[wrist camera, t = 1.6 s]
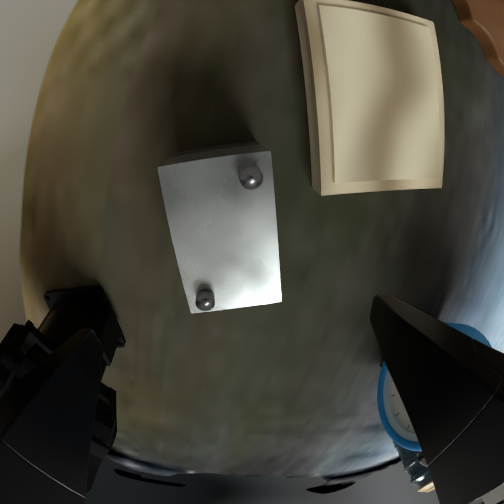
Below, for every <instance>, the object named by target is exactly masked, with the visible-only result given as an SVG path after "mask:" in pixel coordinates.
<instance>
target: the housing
mask: <svg viewBox="0 0 504 504" xmlns="http://www.w3.org/2000/svg"><path fill="white" fill-rule="evenodd" d="M157 168H158V174H159V179H160V184H161V190H162V195H163V200H164V204H165V209H166V214H167V219H168V223H169V228H170V232H171V237H172V241H173V245H174V249H175V254H176V258H177V262H178V266H179V270H180V274H181V278H182V281H183V285H184V289H185V293H186V296H187V300H188V304H189V307H190V311H191V313H200V312H208V311H217V310H225V309H233V308H240V307H248V306H255V305H262V304H269V303H276V302H282V301H281V283H280V266H279V251H278V236H277V222H276V209H275V196H274V183H273V171H272V160H271V151H270V150H269V149H267V148H266V147H264V146H263V145H261V144H260V143H258V142H257V141H249V142H240V143H231V144H224V145H216V146H209V147H203V148H196V149H190V150H184V151H179V152H176V153H175V154H174V155H172V156H171V157H170V158H169V159H167V160H166V161H165V162H163V163H162V164H161V165H160V166H158V167H157Z"/></svg>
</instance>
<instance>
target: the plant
mask: <svg viewBox="0 0 504 504" xmlns="http://www.w3.org/2000/svg"><path fill="white" fill-rule="evenodd" d="M452 1H453V3H454V5H455V8H456V11H457V14H458V18H459V21H460V23H461V24H462V25H463V26H465V27H466V28H468V29H469V30H470V31H471V32H472V33H473V34H474V36H475V37H476V39H477V40H478V42H479V43H480V45H481V48H482V50H483V52H484V55H485V57H486V59H487V61H488V62H489V64H490V65H491V66H492V67H493V68H494V69H495V70H496V71H498V72H499V73H500V74H501V75H502V76H503V77H504V0H452Z"/></svg>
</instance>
